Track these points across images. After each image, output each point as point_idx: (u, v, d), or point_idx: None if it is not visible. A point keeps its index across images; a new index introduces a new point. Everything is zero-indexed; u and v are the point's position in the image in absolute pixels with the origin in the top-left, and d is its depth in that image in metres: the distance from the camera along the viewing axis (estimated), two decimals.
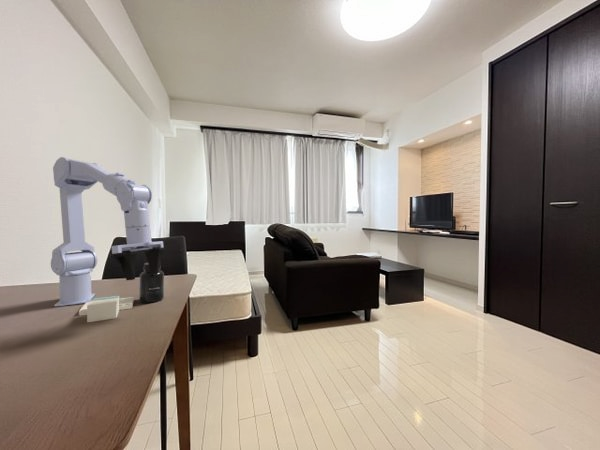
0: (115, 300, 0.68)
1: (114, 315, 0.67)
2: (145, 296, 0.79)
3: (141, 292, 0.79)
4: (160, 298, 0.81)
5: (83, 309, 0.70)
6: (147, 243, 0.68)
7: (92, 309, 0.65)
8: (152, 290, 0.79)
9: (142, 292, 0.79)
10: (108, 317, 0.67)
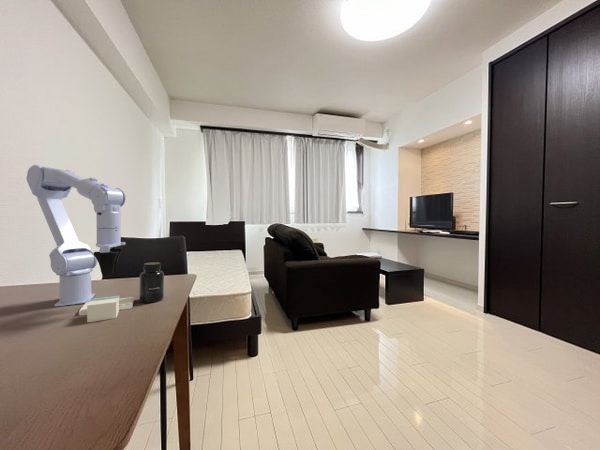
0: (115, 300, 0.68)
1: (114, 315, 0.67)
2: (145, 296, 0.79)
3: (141, 292, 0.79)
4: (160, 298, 0.81)
5: (83, 309, 0.70)
6: (123, 243, 0.76)
7: (92, 309, 0.65)
8: (152, 290, 0.79)
9: (142, 292, 0.79)
10: (108, 317, 0.66)
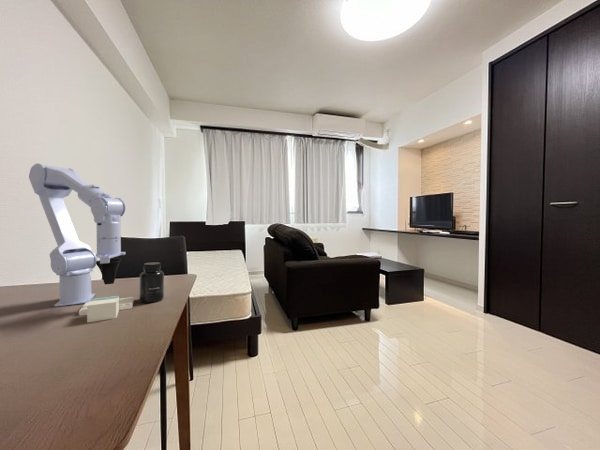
0: (115, 300, 0.68)
1: (114, 315, 0.67)
2: (145, 296, 0.79)
3: (141, 292, 0.79)
4: (160, 298, 0.81)
5: (83, 309, 0.70)
6: (123, 253, 0.76)
7: (92, 309, 0.65)
8: (152, 290, 0.79)
9: (142, 292, 0.79)
10: (108, 317, 0.66)
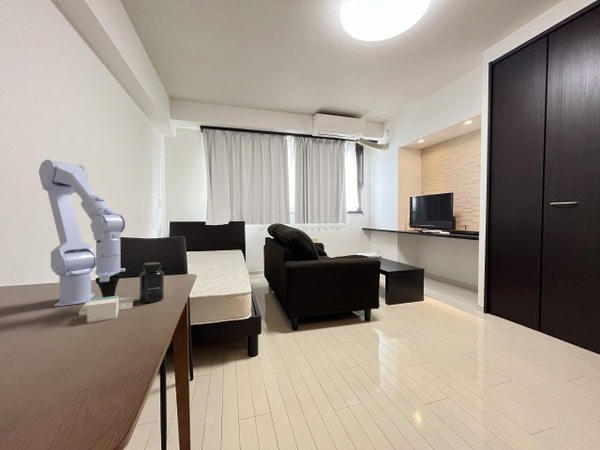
0: (115, 300, 0.68)
1: (114, 315, 0.67)
2: (145, 296, 0.79)
3: (141, 292, 0.79)
4: (160, 298, 0.81)
5: (83, 309, 0.70)
6: (123, 270, 0.75)
7: (92, 309, 0.65)
8: (152, 290, 0.79)
9: (142, 292, 0.79)
10: (108, 317, 0.66)
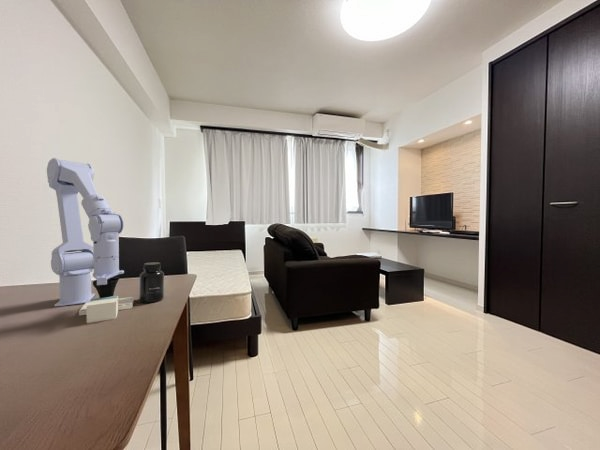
0: (115, 300, 0.68)
1: (114, 315, 0.67)
2: (145, 296, 0.79)
3: (141, 292, 0.79)
4: (160, 298, 0.81)
5: (83, 309, 0.70)
6: (121, 272, 0.72)
7: (92, 309, 0.64)
8: (152, 290, 0.79)
9: (142, 292, 0.79)
10: (108, 317, 0.66)
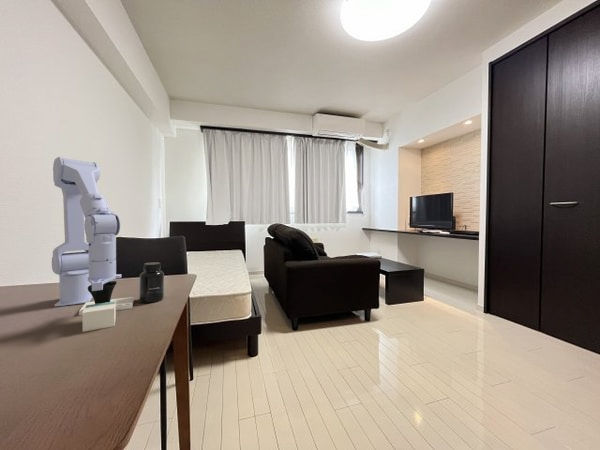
0: (113, 306, 0.63)
1: (112, 322, 0.62)
2: (145, 296, 0.79)
3: (141, 292, 0.79)
4: (160, 298, 0.81)
5: (83, 309, 0.70)
6: (118, 276, 0.68)
7: (88, 317, 0.60)
8: (152, 290, 0.79)
9: (142, 292, 0.79)
10: (105, 325, 0.61)
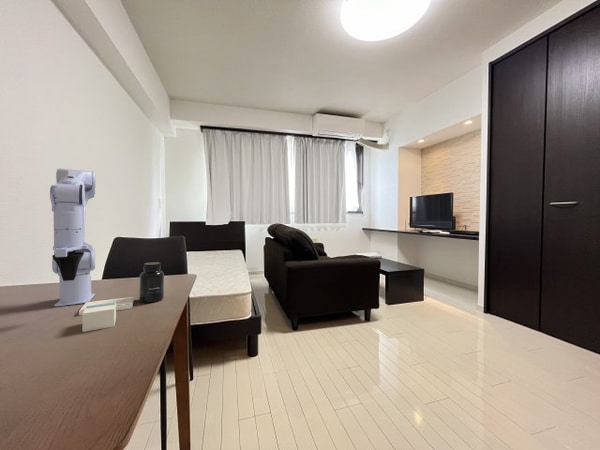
0: (113, 307, 0.63)
1: (112, 323, 0.62)
2: (145, 296, 0.79)
3: (141, 292, 0.79)
4: (160, 298, 0.81)
5: (83, 309, 0.70)
6: (85, 246, 0.68)
7: (88, 317, 0.60)
8: (152, 290, 0.79)
9: (142, 292, 0.79)
10: (105, 325, 0.61)
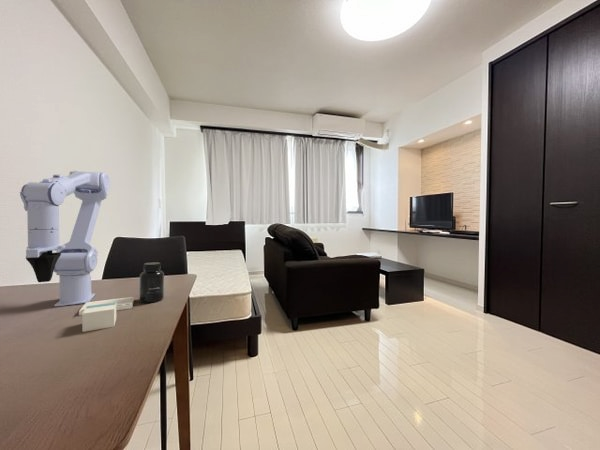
0: (113, 307, 0.63)
1: (112, 323, 0.62)
2: (145, 296, 0.79)
3: (141, 292, 0.79)
4: (160, 298, 0.81)
5: (83, 309, 0.70)
6: (61, 247, 0.66)
7: (88, 318, 0.60)
8: (152, 290, 0.79)
9: (142, 292, 0.79)
10: (105, 326, 0.61)
